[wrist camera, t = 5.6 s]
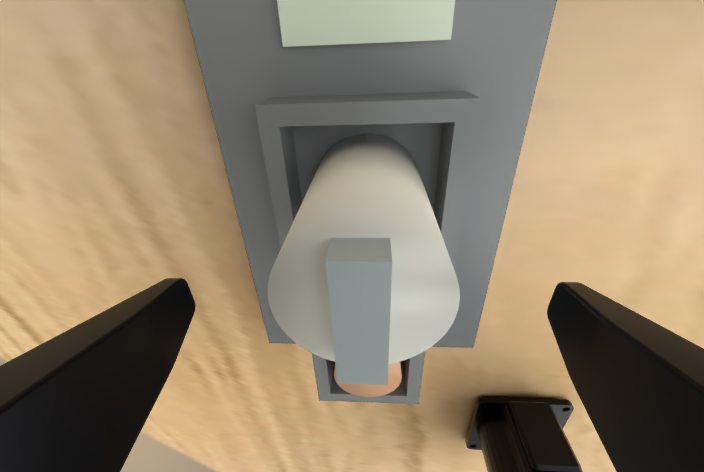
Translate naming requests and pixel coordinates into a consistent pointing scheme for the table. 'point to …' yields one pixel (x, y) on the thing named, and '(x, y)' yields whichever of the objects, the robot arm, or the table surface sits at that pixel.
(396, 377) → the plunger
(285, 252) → the cartridge
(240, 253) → the table surface
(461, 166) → the housing
